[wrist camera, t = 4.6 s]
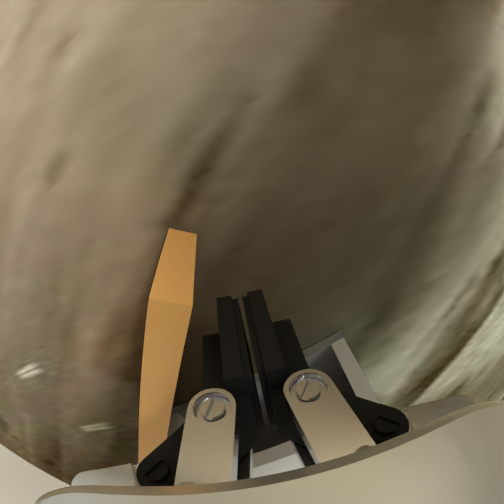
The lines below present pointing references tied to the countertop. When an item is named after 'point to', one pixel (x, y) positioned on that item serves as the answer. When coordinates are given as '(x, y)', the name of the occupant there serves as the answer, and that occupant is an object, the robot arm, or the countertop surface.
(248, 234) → the countertop surface
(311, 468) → the robot arm
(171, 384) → the side door
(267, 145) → the countertop surface
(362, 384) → the open gray box
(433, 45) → the countertop surface
